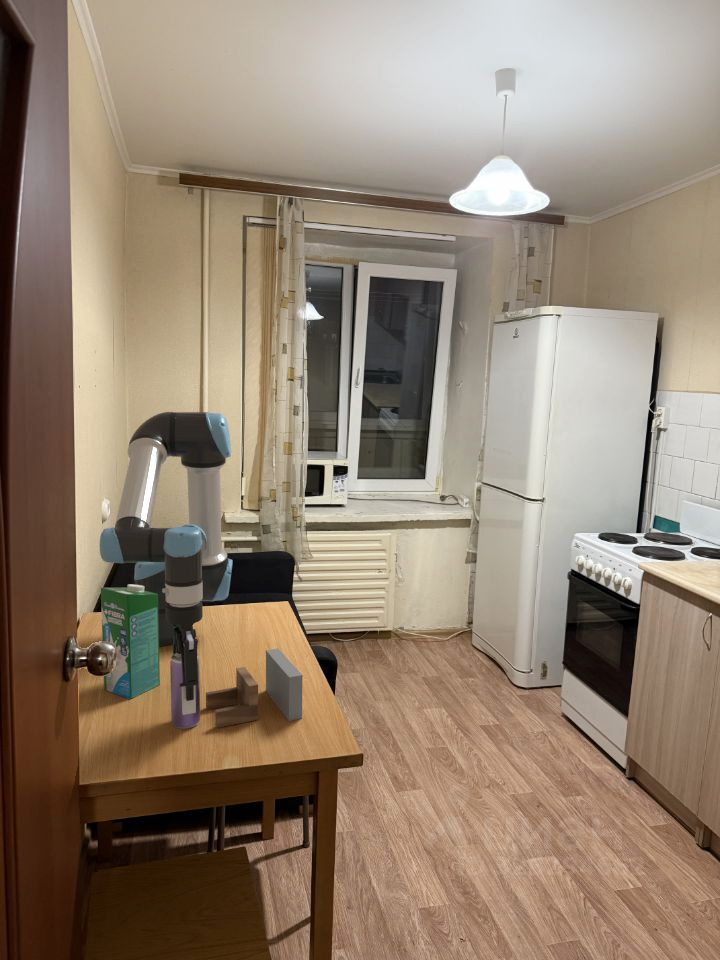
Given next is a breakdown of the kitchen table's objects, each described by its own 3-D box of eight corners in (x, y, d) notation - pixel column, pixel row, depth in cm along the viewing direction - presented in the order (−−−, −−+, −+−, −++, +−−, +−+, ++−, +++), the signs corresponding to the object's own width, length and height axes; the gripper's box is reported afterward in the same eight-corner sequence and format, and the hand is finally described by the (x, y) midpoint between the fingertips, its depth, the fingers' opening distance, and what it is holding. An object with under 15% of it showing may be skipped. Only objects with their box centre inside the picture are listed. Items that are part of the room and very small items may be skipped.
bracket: (205, 707, 154) (205, 673, 152) (244, 699, 158) (244, 666, 156) (217, 727, 145) (216, 692, 144) (258, 719, 149) (258, 684, 148)
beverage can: (192, 731, 143) (191, 663, 141) (166, 728, 145) (165, 660, 142) (204, 718, 149) (204, 652, 147) (179, 714, 150) (178, 649, 148)
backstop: (265, 690, 163) (265, 650, 161) (277, 688, 164) (278, 648, 163) (289, 721, 149) (289, 677, 147) (302, 718, 150) (302, 675, 149)
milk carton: (160, 684, 164) (158, 584, 161) (130, 699, 157) (127, 594, 153) (134, 676, 169) (131, 577, 165) (103, 689, 161) (100, 587, 158)
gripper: (157, 590, 150) (159, 690, 153) (174, 618, 133) (176, 730, 136) (192, 586, 153) (193, 685, 156) (213, 613, 136) (214, 722, 139)
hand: (185, 705), depth 146 cm, fingers closed on beverage can, 6 cm apart
